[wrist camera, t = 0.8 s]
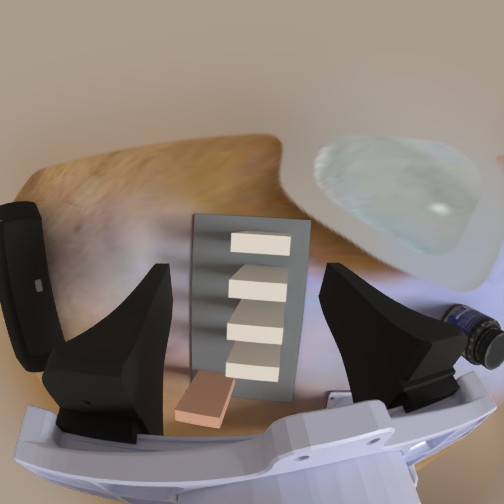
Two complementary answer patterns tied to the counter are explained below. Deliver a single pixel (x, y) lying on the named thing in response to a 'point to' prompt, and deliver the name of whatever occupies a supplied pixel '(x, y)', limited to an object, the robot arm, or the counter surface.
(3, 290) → the portable speaker
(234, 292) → the domino
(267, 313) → the domino
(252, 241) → the domino
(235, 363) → the domino
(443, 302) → the counter surface
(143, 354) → the robot arm
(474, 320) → the pill bottle
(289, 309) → the slate mat
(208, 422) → the domino
